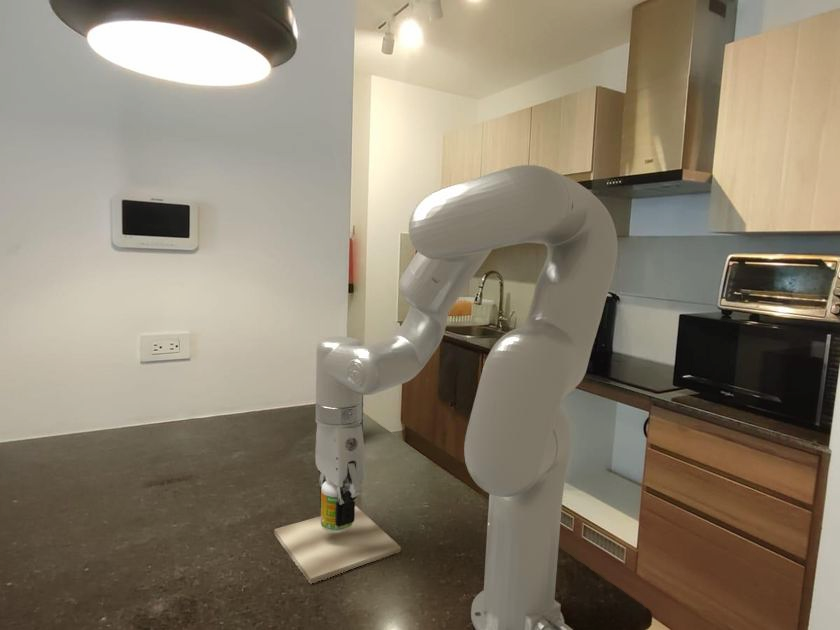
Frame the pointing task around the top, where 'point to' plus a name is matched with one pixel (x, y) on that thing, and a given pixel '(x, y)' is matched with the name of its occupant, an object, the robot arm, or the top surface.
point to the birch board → (334, 546)
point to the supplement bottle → (331, 507)
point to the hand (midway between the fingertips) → (336, 514)
